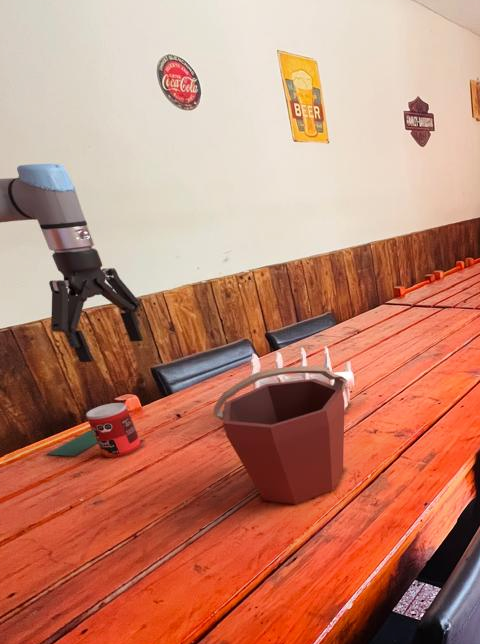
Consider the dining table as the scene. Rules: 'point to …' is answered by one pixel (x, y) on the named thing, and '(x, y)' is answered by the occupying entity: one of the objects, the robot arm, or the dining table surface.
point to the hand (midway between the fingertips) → (113, 350)
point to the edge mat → (76, 445)
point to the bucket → (288, 433)
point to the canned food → (113, 429)
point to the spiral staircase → (305, 376)
